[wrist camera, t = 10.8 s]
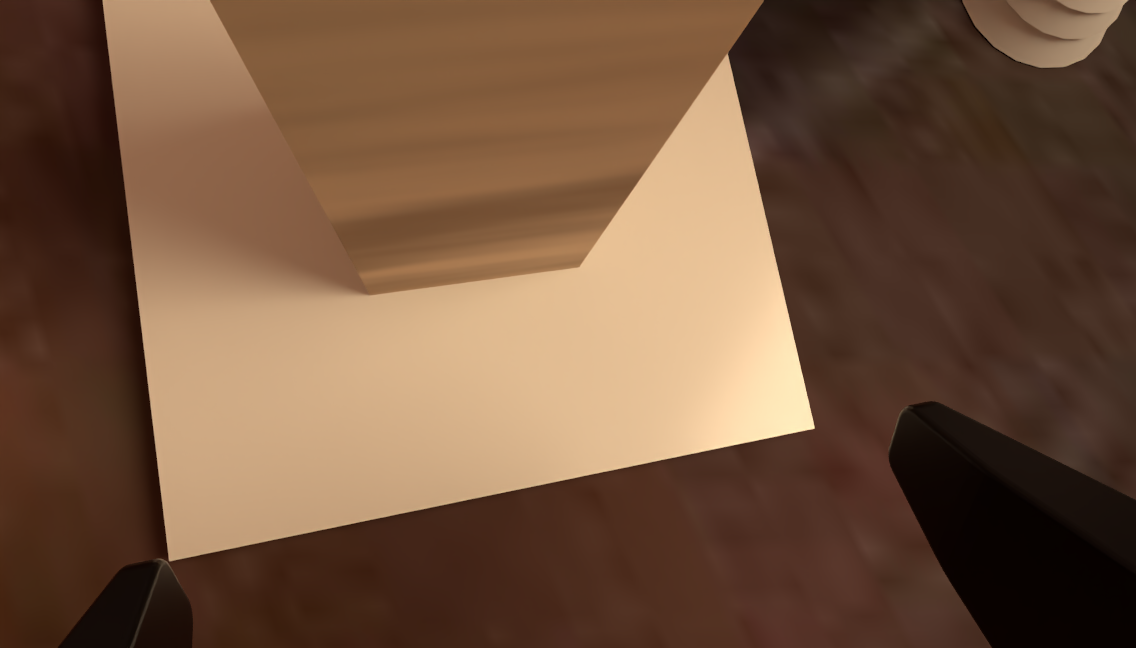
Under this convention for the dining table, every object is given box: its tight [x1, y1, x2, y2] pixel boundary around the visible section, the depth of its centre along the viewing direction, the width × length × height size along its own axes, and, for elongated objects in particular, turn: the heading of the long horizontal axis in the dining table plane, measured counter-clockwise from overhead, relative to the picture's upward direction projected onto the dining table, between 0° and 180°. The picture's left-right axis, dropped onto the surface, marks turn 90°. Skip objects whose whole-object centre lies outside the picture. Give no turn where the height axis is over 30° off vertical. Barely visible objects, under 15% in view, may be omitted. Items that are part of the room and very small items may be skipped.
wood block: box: [210, 0, 764, 295], centre depth 12 cm, size 5×5×13 cm
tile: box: [103, 0, 815, 561], centre depth 19 cm, size 15×15×1 cm
